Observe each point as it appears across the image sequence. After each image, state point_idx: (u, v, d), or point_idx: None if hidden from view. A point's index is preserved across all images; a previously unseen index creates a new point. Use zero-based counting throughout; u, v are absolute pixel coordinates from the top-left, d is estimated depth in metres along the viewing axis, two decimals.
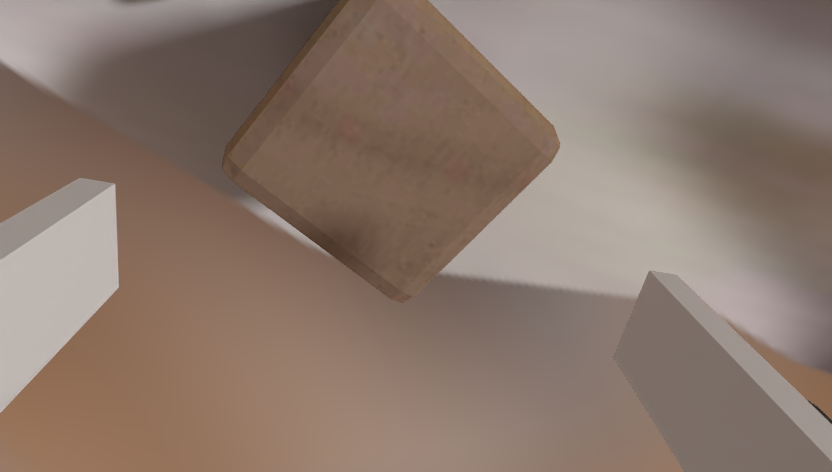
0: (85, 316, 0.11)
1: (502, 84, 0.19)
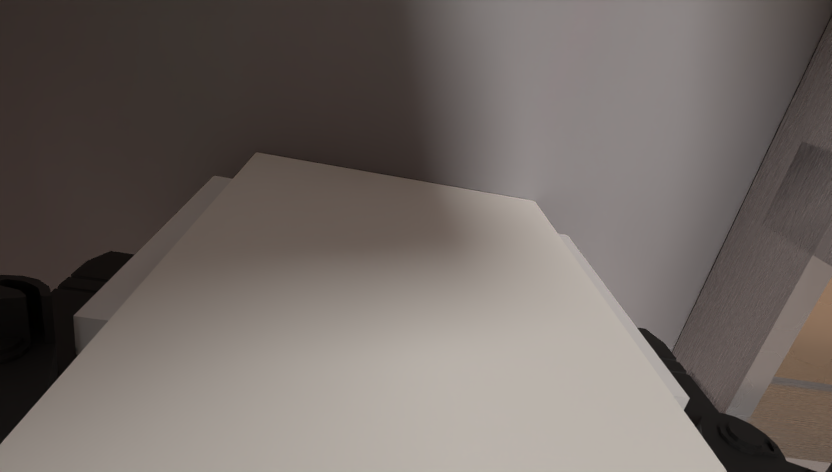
0: None
1: None
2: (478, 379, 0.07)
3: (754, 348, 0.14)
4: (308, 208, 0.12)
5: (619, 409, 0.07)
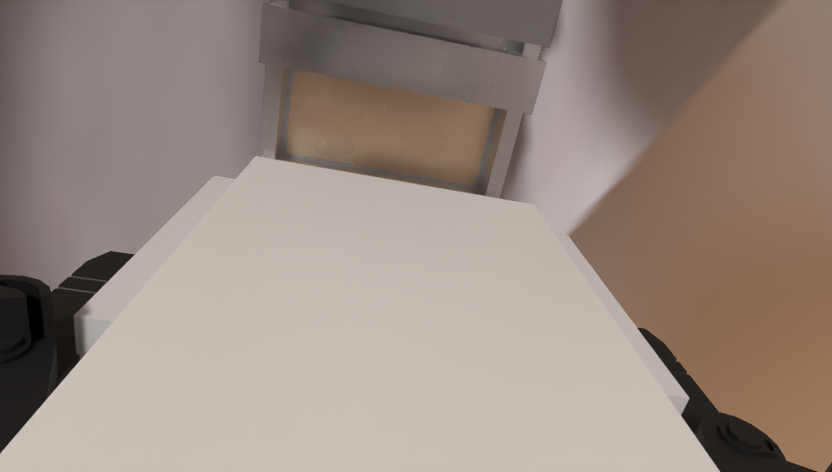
0: None
1: None
2: (477, 387, 0.07)
3: None
4: (308, 213, 0.12)
5: (618, 417, 0.07)
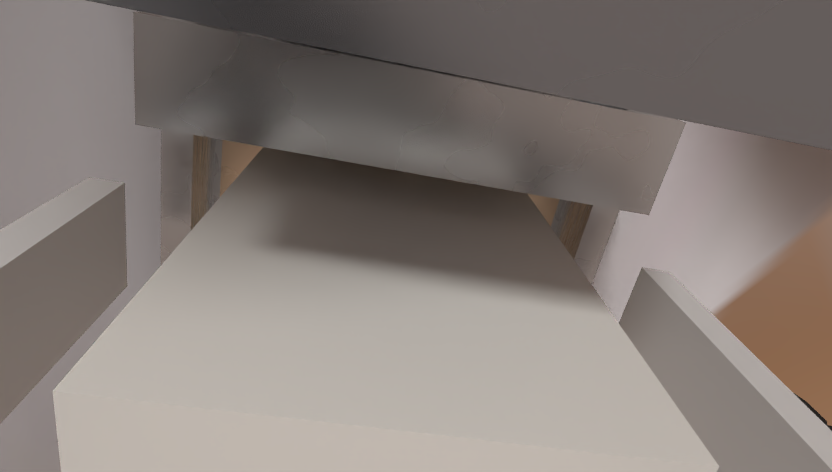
0: (95, 314, 0.12)
1: None
2: (463, 325, 0.09)
3: None
4: (316, 190, 0.13)
5: (583, 349, 0.09)
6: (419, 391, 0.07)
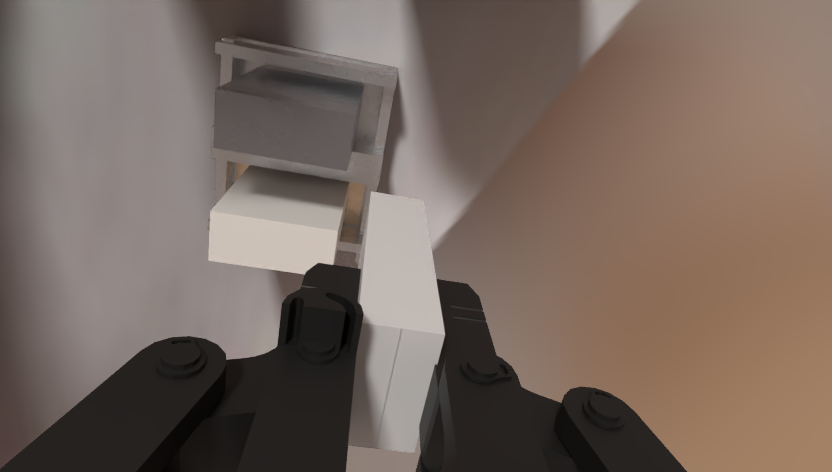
0: None
1: None
2: (296, 209, 0.36)
3: None
4: (267, 178, 0.40)
5: (325, 215, 0.36)
6: (279, 217, 0.34)
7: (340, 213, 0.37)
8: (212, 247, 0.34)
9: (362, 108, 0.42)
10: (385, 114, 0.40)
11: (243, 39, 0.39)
